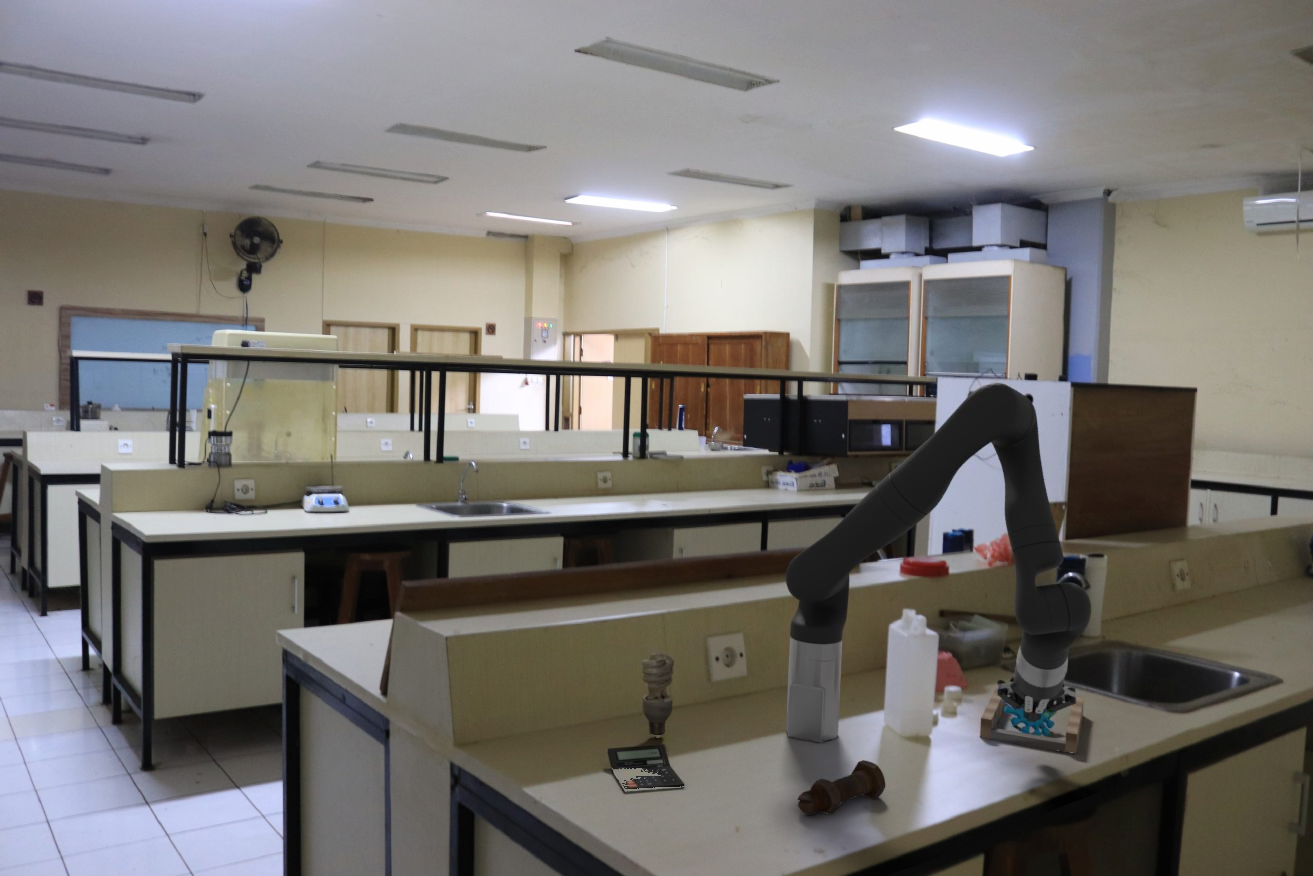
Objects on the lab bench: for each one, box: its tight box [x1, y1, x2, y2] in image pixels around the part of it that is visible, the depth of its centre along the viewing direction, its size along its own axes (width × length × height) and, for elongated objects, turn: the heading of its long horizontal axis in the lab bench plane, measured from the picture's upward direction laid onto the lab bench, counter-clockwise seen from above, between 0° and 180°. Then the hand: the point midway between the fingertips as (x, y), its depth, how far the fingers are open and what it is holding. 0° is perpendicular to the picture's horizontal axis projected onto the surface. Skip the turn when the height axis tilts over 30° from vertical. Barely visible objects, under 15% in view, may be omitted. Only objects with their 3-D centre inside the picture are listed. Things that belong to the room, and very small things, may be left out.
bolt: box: [797, 759, 886, 816], centre depth 145 cm, size 6×5×15 cm
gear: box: [1003, 700, 1058, 737], centre depth 182 cm, size 11×6×10 cm
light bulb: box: [641, 651, 675, 736], centre depth 170 cm, size 6×6×15 cm
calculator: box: [607, 744, 686, 789], centre depth 153 cm, size 9×12×3 cm
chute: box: [979, 686, 1085, 754], centre depth 184 cm, size 24×16×4 cm, turn 154°
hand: (1031, 717), depth 170 cm, fingers closed
